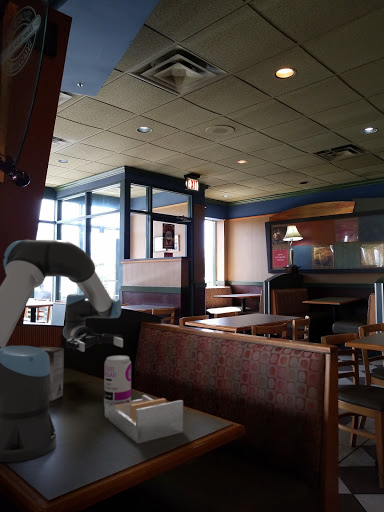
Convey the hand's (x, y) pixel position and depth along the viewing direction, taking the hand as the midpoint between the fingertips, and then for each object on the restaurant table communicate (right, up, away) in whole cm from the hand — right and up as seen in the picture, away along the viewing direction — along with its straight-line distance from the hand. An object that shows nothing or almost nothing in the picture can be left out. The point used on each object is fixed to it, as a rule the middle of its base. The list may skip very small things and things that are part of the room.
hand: (103, 345), depth 135 cm
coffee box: (-19, -17, -2) cm, 25 cm away
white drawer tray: (+16, -16, -25) cm, 34 cm away
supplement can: (+7, -17, -11) cm, 21 cm away
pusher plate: (+18, -14, -29) cm, 37 cm away
